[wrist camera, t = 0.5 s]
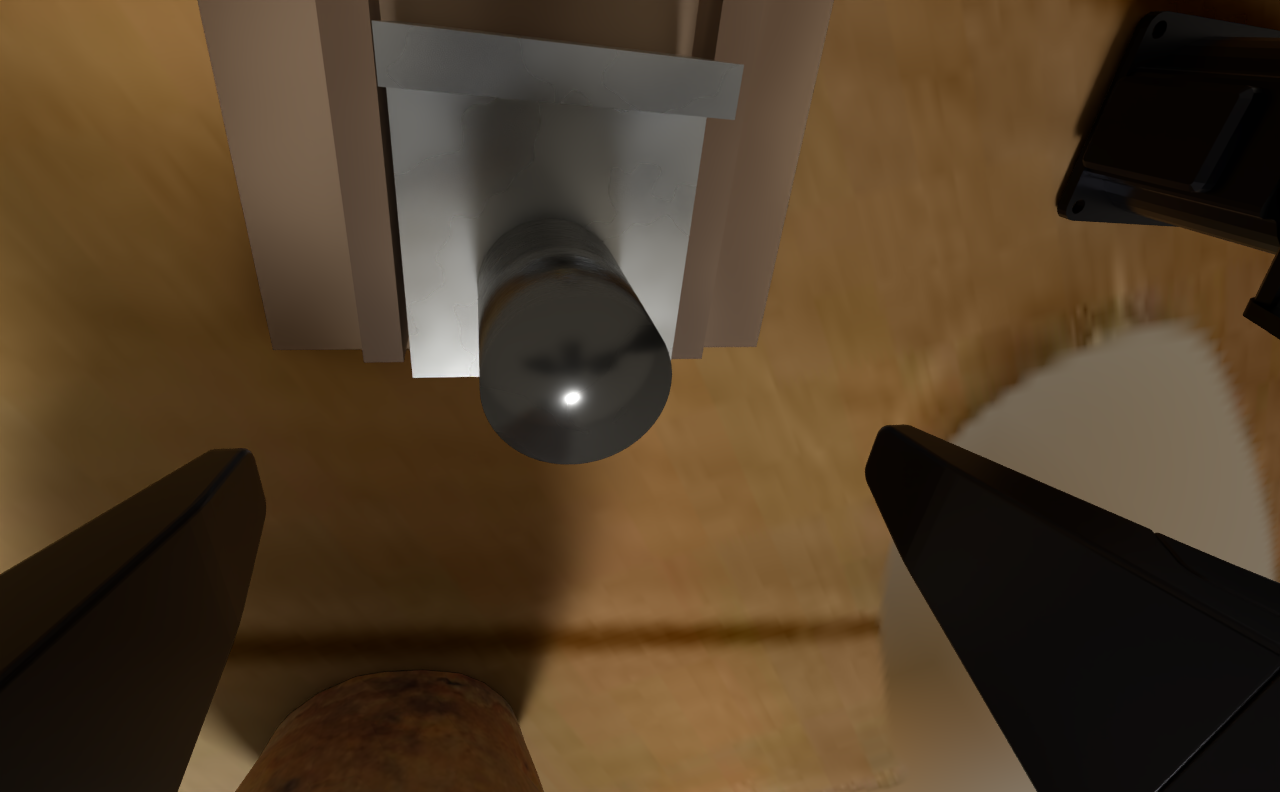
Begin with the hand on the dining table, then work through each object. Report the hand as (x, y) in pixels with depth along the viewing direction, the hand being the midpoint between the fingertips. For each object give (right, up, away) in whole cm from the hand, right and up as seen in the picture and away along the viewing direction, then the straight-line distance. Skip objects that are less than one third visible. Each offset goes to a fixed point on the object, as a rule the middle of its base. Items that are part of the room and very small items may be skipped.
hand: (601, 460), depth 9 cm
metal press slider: (-2, +6, +8) cm, 10 cm away
